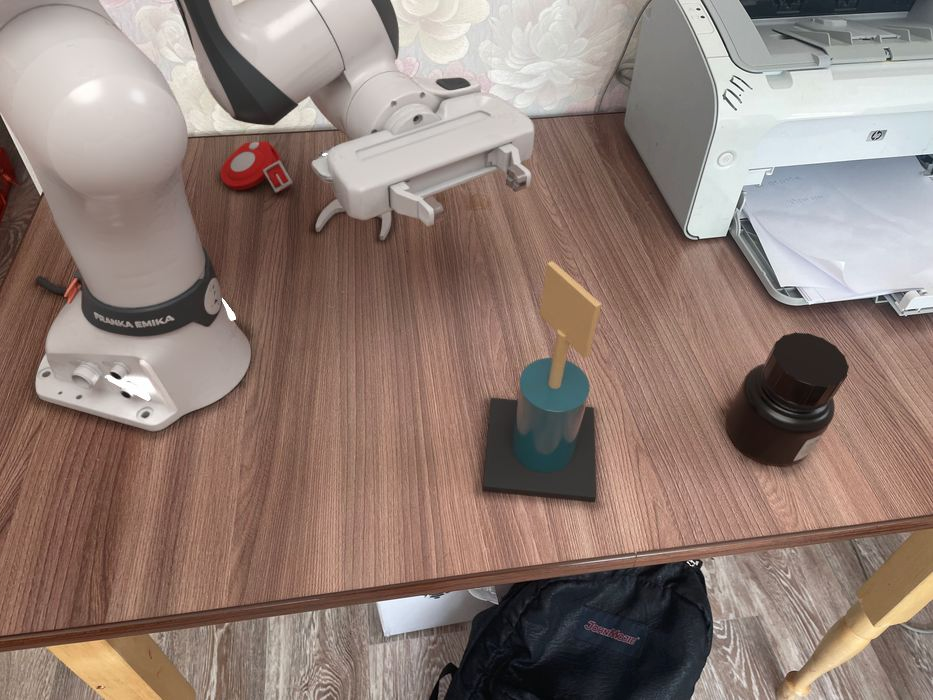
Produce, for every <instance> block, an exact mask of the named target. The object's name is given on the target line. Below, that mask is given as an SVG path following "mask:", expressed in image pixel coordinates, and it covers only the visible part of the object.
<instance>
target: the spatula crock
mask: <svg viewBox="0 0 933 700" xmlns="http://www.w3.org/2000/svg"><path fill="white" fill-rule="evenodd" d="M602 305H603V304H602V303H601V302H600V301H599V300H597V298H595V297H594V296H593V294H591V293H590V291H587V290H586V289H585V288H584V287H583V286H582V285H581V284H580V283H579V282H577V281H576V280H575V279H574V278H573V277H571V276H570V275H569V274H568V273H567V272H566V271H565V270H564V269H563V268H561V267H560V265H559V264H557V263H556V262H555V261H554V260H551V261H549V262H547V263H546V268H545V274H544V282H543V289H542V295H541V302H540V309H539V316H540V317H541V319H543V320H544V321H545V323H547V324H548V325H549V326H550V327H551V328H552V329H553V330H554V331H555V332H556V336H555V341H554V348H553V354H552V357H544V358H540V359H536V360H534V361H532V362H530V363H529V364H528V365H526V367H524V368H523V370H522V372H521V374H520V377H519V384H518V389H517V390H518V391H517V398H516V400H517V405H516V413H515V421H514V429H513V436H512V449H513V452H514V455H515V456H516V458H517V459H518V460H519V461H520V463H522V464H523V465H524V466H526V467H527V468H529V469H531V470H534V471H538V472H553V471H557V470H560V469H562V468H563V467H565V466H566V465H567V464H568V463H569V462H570V461H571V459H572V457H573V455H574V451H575V447H576V443H577V439H578V435H579V431H580V427H581V423H582V419H583V415H584V411H585V407H587V402H588V398H589V394H590V390H591V389H590V386H591V385H590V381H589V378H588V377H587V375H586V373H585V372H584V370H582V368H580V367H579V366H578V365H576V364H575V363H573V362H572V361H569V360H567V358H568V353H569V349H570V347H572V348H573V349H574V350H575V351H576V353H578V354H579V355H580V356H581V357H582V358H583V359H586V358H588V357H590V355H591V352H592V347H593V343H594V338H595V334H596V330H597V326H598V322H599V317H600V313H601V309H602Z"/></svg>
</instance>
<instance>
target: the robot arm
mask: <svg viewBox="0 0 933 700" xmlns="http://www.w3.org/2000/svg"><path fill="white" fill-rule="evenodd" d="M174 2H175V5H176V7H177V9H178V11H179V14H180V17H181V19H182V22H183V24H184V27H185V30H186V33H187V36H188V39H189V42H190V45H191V48H192V51H193V53H194V57H195V59H196V64H197V68H198V70H199V73H200V75H201V79H202V80H203V82H204V85H205V87H206V88H207V90H208V91H209V94H210V95H211V96H212V98H213V99H214V100H215V102H216V103H217V104H218V105H219V106H220V108H221V109H222V110H224V112H225V113H227V114H228V115H229V116H230V117H231V118H232V119H233V120H235V121H239V122H242V123H247V124H250V125H251V124H252V125H253V124H254V125H258V126H275V125H276V124H278V123H279V122H280V121H281V120H282V119H284V118H285V117H286V116H287V115H289V114H290V113H291V112H292V111H293V110H295V109H296V108H297V107H299V104H300V103H301V102H303V101H305V100H306V99H308V98H310V100H311V101H312V103H313V104H314V106H315V107H316V108H317V109H318V110H319V112H320V113H321V114H322V115H323V117H324V118H325V119H326V120H327V121H328V122H329V123H330V124H331V126H333V127H334V128H335V129H336V130H337V131H339V132H341V133H342V134H344V135H345V136H347V139H348V141H344V142H342V143H339V144H337V145H335V146H333V147H328V148H325V149H323V150H321V151H320V152H319V153H318V156H316V157H315V158H314V159H313V160H312V161H311V163H310V164H311V166H310V167H311V169H312V171H313V173H314V174H315V175H316V176H317V177H318V178H319V179H320V180H321V181H322V182H324V183H328V184H330V188H331V190H332V193H333V194H334V196H335V198H336V199H337V200H338V201H339V203H340V204H341V206H342V207H343V209H344V210H345V213H346V214H347V215H348V216H349V217H350V218H352V219H355V220H359V221H368V220H370V219H373V218H375V217H377V216H379V215H381V214H384V213H387V212H389V211H391V212H392V211H394V212H395V213H396V214H398V215H399V214H400V215H403V216H407V217H410V218H415V219H419V220H420V221H421V222H422V223H423V224H424V225H425V226H426V227H431V226H435V225H436V224H439V223H441V222H443V221H444V216H443V214H444V212H445V211H444V206H443V205H442V203H441V202H439V201H437V199H436V197H434V195H438V194H440V193H443V192H445V191H448V190H451V189H454V188H456V187H459V186H461V185H464V184H467V183H469V182H472V181H475V180H477V179H481V178H483V177H485V176H488V175H491V174H494V173H496V172H499V171H502V172H503V173H506V175H507V176H506V178H505V185H506V186H507V187H509V189H512V191H513V192H514V193H517V192H520V191H523V190H525V189H528V188H530V187H531V183H532V182H531V181H532V173H531V172H530V170H529V169H528V168H527V167H525V166H524V165H523V164H522V163H523V162H526V161H528V160H530V159H531V157H532V156H533V150H534V144H535V136H536V135H535V134H536V133H535V132H536V131H535V124H534V122H533V121H532V119H530V117H528V116H527V115H526V114H525V113H524V112H522V111H521V110H520V109H518V108H517V107H516V106H514V105H513V104H511V103H509V102H508V101H507V100H505V99H504V98H502V97H500V96H498V95H495V94H493V93H490V92H486V91H485V92H483V91H482V90H481V89H482V88H481V87H482V86H481V83H480V82H479V80H477V79H476V78H474V77H471V76H458V77H445V78H443V77H442V78H433V77H431V78H430V77H423V76H412V77H411V76H410V75H409V74H406V73H404V72H402V71H400V69H399V68H398V67H397V64H396V60H398V57H399V51H400V50H399V49H400V29H399V28H400V27H399V23H398V17H397V14H396V11H395V8H394V4H393V3H392V1H391V0H243V1H241V2H239V3H236V4H233V2H232V0H174ZM0 114H1V116H2V117H3V119H4V121H5V123H6V124H7V126H8V127H9V129H10V130H11V132H12V133H13V135H14V137H15V138H16V140H17V142H18V144H19V145H20V148H21V149H22V150H23V152H24V154H25V156H26V158H27V160H28V162H29V164H30V166H31V168H32V170H33V173H34V174H35V177H36V180H37V182H38V184H39V185H40V186H39V187H40V188H41V190H42V192H43V195H44V197H45V199H46V202H47V204H48V207H49V209H50V211H51V214H52V218H53V222H54V224H55V226H56V228H57V230H58V232H59V234H60V237H62V240H63V242H64V244H65V246H66V248H67V249H68V252H69V253H70V255H71V257H72V260H73V261H74V263H75V265H76V267H77V269H76V270H75V272H74V273H73V280H72V282H71V284H70V285H69V286H68V287H67V286H66V287H61V286H58V285H55V284H54V283H52V282H51V281H49V280H48V279H46V278H45V277H44V276H42V275H38V276H36V277H35V282H36V284H37V283H38V284H39V285H40V286H42V287H43V288H45V289H46V290H48V291H49V292H52V293H53V294H56V295H59V296H64V298H67V297H68V298H67V302H66V303H65V304H64V306H63V307H62V308H61V309H60V311H59V312H58V314H57V315H56V316H55V318H54V320H53V322H52V323H51V326H50V328H49V330H48V332H47V336H46V339H45V345H44V352H45V353H44V355H43V357H42V360H41V361H40V363H39V366H38V369H37V372H36V376H35V383H34V386H35V391H36V394H37V396H38V399H40V400H41V401H44V402H47V403H50V404H53V405H57V406H61V407H63V408H67V409H71V410H74V411H79V412H82V413H85V414H89V415H93V416H96V417H100V418H103V419H106V420H110V421H113V422H117V423H121V424H124V425H127V426H131V427H135V428H138V429H141V430H144V431H149V432H160V431H162V430H164V429H166V428H167V427H169V426H171V425H172V424H173V423H175V422H177V421H178V420H179V419H180V418H181V417H183V416H185V415H187V414H189V413H191V412H195V411H197V410H200V409H203V408H205V407H207V406H210V405H211V404H213V403H216V402H217V401H219V400H220V399H222V398H223V397H225V396H226V395H228V394H229V393H230V392H232V391H233V390H234V389H235V388H236V386H238V384H239V383H240V382H241V381H242V380H243V378H244V376H245V375H246V373H247V372H248V369H249V366H250V363H251V358H252V350H251V349H252V348H251V344H250V342H249V339H248V337H247V336H246V334H245V333H244V332H243V331H242V329H240V327H239V326H238V324H237V323H236V321H235V320H236V319H237V318H236V315H235V313H234V311H232V309H231V308H230V307H229V305H228V304H227V302H226V301H225V300H224V299H223V296H222V290H221V287H220V282H219V279H218V276H217V273H216V270H215V267H214V263H213V262H212V259H211V256H210V253H209V251H208V249H207V248H206V246H205V245H203V243H202V241H201V238H200V236H199V232H198V229H197V226H196V223H195V220H194V217H193V214H192V211H191V207H190V205H189V202H188V198H187V194H186V190H185V184H184V176H183V175H184V174H183V161H184V159H185V156H186V152H187V149H188V140H189V139H188V138H189V136H188V135H189V134H188V133H189V131H188V126H187V125H188V124H187V122H186V118H185V115H184V113H183V111H182V107H181V106H180V104H179V102H178V100H177V98H176V95H175V93H174V92H173V89H172V88H171V86H170V83H169V82H168V80H167V79H166V77H165V75H164V74H163V72H162V71H161V70H160V68H159V67H158V65H157V64H156V63H155V62H154V61H153V60H152V59H150V58H149V57H148V55H146V53H144V52H143V50H142V49H140V48H139V46H137V45H136V44H135V43H134V42H133V41H132V40H131V39H130V38H129V36H127V35H126V34H125V33H124V32H123V30H122V29H121V28H119V25H117V24H116V22H115V21H114V20H113V18H112V17H111V16H110V14H109V13H108V12H107V10H106V9H105V8H104V6H103V4H102V2H101V1H100V0H0Z"/></svg>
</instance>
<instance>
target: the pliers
mask: <svg viewBox="0 0 933 700" xmlns="http://www.w3.org/2000/svg"><path fill="white" fill-rule="evenodd" d="M344 212H345V213H346V211H345V210H344V209H343V207H342V206H341V204H340V203H339V201H338V200H337V198H336V199H334V200H333V201H331V202H330V203H328V205H327V206H325V207H324V208H323V210H322V211H321V212H320V214H319V216H318V217H317V219H316V223H315V232H317V233H320V232H321V231H322V229H323V227H324V226H325V225H326V223H327V222H328V221H329V220H330V219H331V218H332V217H333V216H334V215H335V214H338V213H344ZM376 217H377V218H380V219H381V220H382V221H381V229H380V233H379V241H384V240H385V239H386V238H387V236H388V234H389V232H390V230H391V226H392V211H389V212H387V213H384V214H381V215H379V216H376Z"/></svg>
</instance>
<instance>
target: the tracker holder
mask: <svg viewBox="0 0 933 700" xmlns="http://www.w3.org/2000/svg"><path fill="white" fill-rule="evenodd" d="M220 179H221V180H222V182H223V184H224V185H225V186H226V187H227V188H229V189H231V190H235V191H243V190H248V189H250V188H253V187H255V186H257V185H259V184H260V183H261V182H263V181H264V180H265V179H266V180H268V182H269V185H270V186H271V188H272V189H273V191H274V193H275V194H277V193H281V192H283V191H285V190H287V189H288V188H290V187H291V186H292V184H293V181H292V178H291V177H290V175H289V174H288V172H287V170H286V168H285V166H284V164H283V162H282V159H281V156H280V154H279V153H278V151H277V149H276V148H275V147H274V146H273V145H272V144H271V142H270V141H265V140H263V141H250V142H245V143H243V144H241V146H239V147H238V148H237V149H236V150H235V151H234V152H233V153H232V154H231V155H230V156H229V157H228V158H227V159H226V160H225V162H224V163H223V165H222V167H221V169H220Z"/></svg>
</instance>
